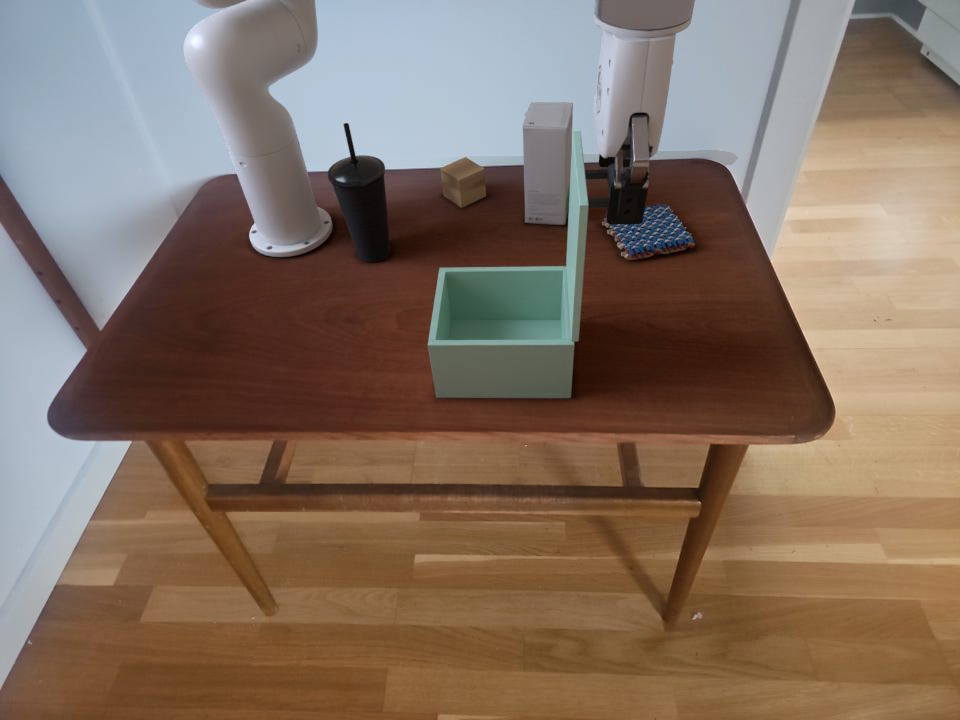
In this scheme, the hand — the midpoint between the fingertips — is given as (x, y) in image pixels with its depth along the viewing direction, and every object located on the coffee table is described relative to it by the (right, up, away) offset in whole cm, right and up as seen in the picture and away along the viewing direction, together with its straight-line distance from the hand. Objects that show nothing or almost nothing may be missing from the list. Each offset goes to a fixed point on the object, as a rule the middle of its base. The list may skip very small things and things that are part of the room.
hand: (619, 192), depth 62 cm
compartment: (-10, -16, +17) cm, 25 cm away
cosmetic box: (-3, +7, +38) cm, 39 cm away
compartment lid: (-4, -4, +4) cm, 7 cm away
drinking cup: (-29, 0, +33) cm, 44 cm away
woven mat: (+11, +2, +32) cm, 34 cm away
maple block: (-16, +10, +42) cm, 46 cm away
